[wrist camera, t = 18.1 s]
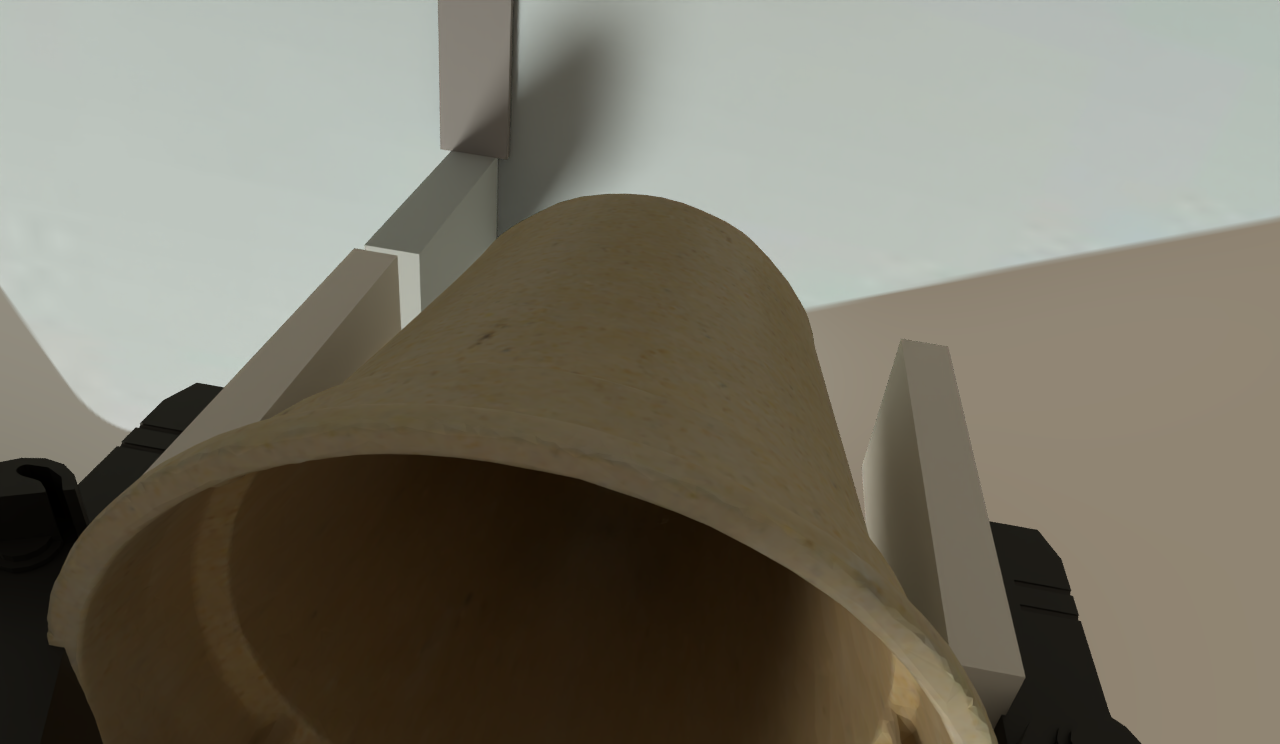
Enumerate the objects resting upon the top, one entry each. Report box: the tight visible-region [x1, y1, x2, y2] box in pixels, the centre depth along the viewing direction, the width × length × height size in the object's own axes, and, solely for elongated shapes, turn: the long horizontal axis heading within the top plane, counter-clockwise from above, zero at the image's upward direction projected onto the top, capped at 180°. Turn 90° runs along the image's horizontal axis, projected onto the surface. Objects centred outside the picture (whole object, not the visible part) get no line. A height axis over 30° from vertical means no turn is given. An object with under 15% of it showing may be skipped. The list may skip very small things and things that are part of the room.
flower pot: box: [47, 194, 998, 744], centre depth 13 cm, size 9×9×9 cm
